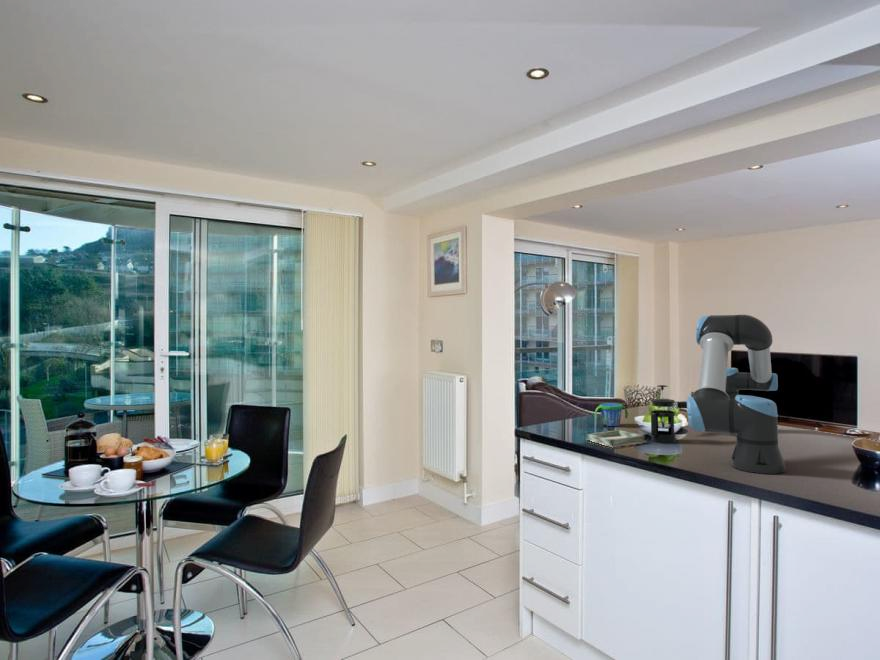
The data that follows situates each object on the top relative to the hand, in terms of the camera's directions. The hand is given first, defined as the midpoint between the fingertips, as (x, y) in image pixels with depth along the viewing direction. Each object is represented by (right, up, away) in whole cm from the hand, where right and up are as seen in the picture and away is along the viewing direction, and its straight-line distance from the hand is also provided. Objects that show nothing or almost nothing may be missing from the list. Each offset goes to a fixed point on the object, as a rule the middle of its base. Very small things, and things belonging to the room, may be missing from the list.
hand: (679, 408), depth 214 cm
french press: (-9, -13, -4) cm, 16 cm away
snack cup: (-18, -13, +31) cm, 38 cm away
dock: (-28, -13, -4) cm, 32 cm away
